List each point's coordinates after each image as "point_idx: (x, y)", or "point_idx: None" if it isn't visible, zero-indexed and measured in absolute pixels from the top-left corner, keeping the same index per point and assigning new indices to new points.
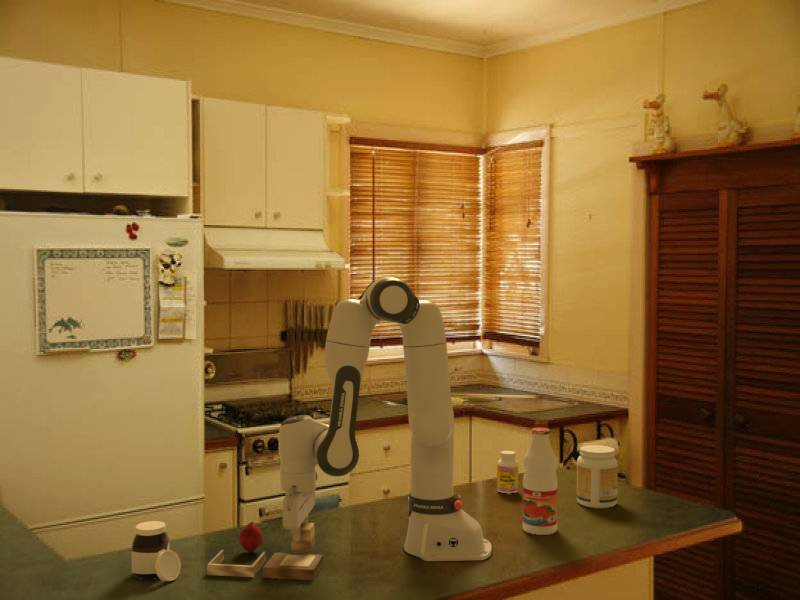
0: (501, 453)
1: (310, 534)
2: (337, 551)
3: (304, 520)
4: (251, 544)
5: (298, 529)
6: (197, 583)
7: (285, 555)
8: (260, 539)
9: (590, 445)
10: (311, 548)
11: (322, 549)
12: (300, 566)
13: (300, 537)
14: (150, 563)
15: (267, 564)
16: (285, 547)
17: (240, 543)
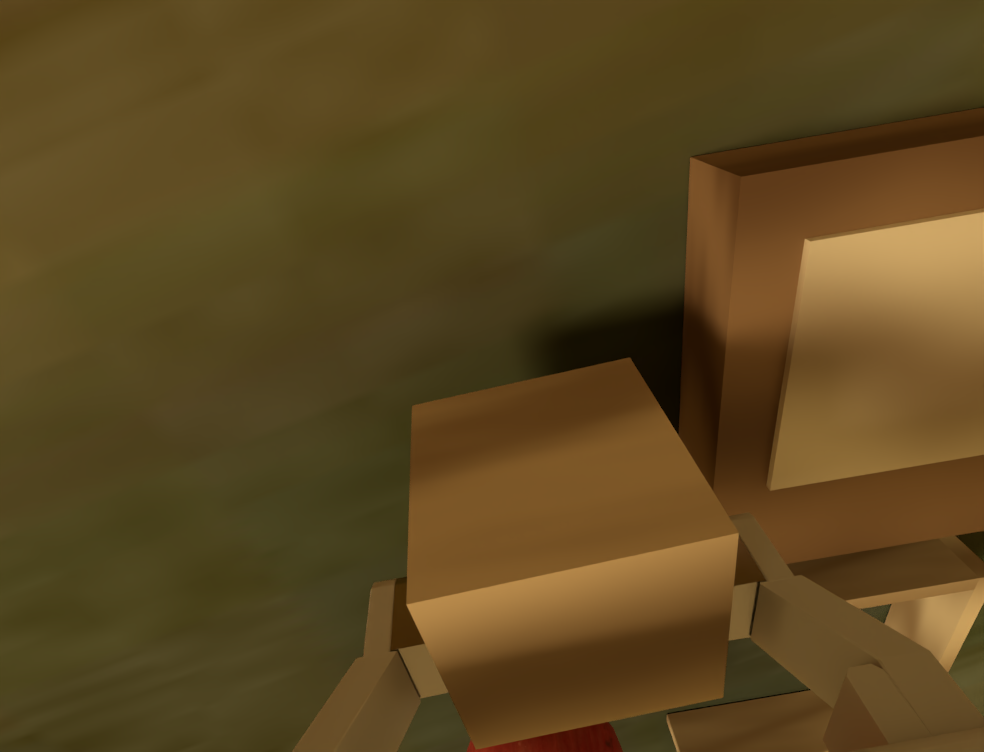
0: None
1: (702, 476)
2: (254, 161)
3: (375, 724)
4: (611, 729)
5: (905, 645)
6: (978, 671)
7: (768, 496)
8: (561, 735)
9: None
10: (633, 363)
11: (278, 331)
12: None
13: (742, 536)
14: None
15: (969, 523)
16: (369, 577)
17: None
